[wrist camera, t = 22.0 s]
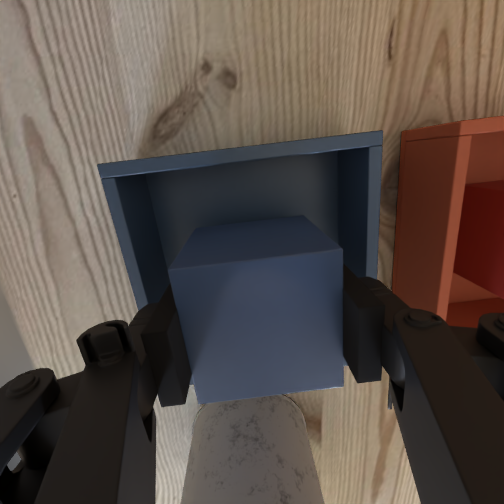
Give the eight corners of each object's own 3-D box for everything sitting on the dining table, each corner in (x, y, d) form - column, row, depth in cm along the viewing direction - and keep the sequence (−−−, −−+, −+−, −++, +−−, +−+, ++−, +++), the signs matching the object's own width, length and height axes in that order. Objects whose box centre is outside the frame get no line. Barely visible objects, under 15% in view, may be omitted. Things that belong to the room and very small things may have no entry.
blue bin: (134, 162, 16) (96, 163, 11) (344, 137, 16) (383, 129, 11) (177, 339, 20) (160, 388, 15) (344, 318, 20) (373, 362, 15)
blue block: (194, 227, 14) (166, 269, 8) (304, 214, 14) (343, 248, 8) (212, 322, 15) (198, 405, 10) (309, 310, 15) (344, 387, 10)
